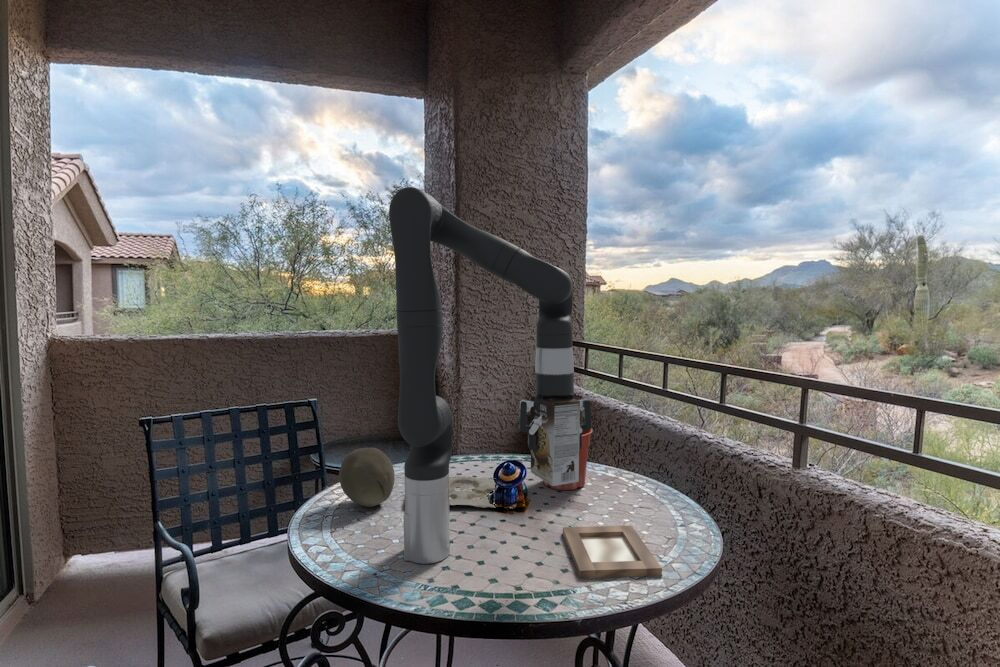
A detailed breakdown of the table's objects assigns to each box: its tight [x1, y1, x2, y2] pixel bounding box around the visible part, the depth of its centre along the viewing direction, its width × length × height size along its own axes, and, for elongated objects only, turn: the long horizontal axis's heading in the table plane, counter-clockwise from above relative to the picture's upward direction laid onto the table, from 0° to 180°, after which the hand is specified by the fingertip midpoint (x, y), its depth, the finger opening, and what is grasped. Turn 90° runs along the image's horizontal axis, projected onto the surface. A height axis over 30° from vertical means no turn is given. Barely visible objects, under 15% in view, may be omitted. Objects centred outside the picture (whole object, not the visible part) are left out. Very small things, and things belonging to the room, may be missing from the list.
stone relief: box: [449, 476, 496, 509], centre depth 141 cm, size 32×3×20 cm
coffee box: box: [530, 393, 581, 486], centre depth 102 cm, size 9×6×16 cm
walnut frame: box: [562, 524, 663, 579], centre depth 109 cm, size 16×19×2 cm
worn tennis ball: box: [338, 447, 396, 508], centre depth 134 cm, size 14×14×15 cm
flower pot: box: [542, 427, 593, 491], centre depth 150 cm, size 16×16×16 cm
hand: (554, 451), depth 102 cm, fingers closed on coffee box, 8 cm apart
